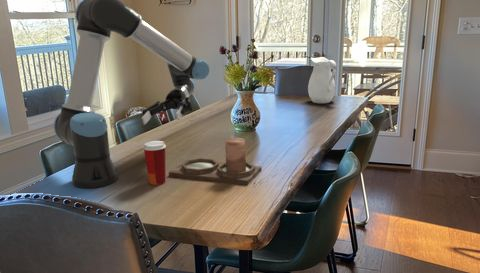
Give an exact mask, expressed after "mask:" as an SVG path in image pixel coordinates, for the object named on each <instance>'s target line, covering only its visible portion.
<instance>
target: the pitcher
mask: <svg viewBox="0 0 480 273" xmlns="http://www.w3.org/2000/svg"><path fill="white" fill-rule="evenodd" d="M310 60H311V62H312V65H313V69H312V72H311V74H310V77H309V81H308V86H307V91H308V96H309V99H310V100H311V102H312V103H313V104H329V103H331V101H332V99H333V98H334V96H335V93H336V84H335V83H336V82H335V78H334V77H335V76H336V73H337V70H338V69H337V63H336V62H335V60H332V59H330V60H329V59H328V58H326V57H324V56H319V57H310ZM331 66H332V68H331Z"/></svg>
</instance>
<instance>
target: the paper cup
mask: <svg viewBox="0 0 480 273" xmlns="http://www.w3.org/2000/svg"><path fill="white" fill-rule="evenodd" d="M166 147H167V145H166V143H165V141H162V140H150V141H147V142H144V144H143V146H142V150H143V151H144V158H145V163H146V164H145V165H146V171H147V176H148V184H150V185H152V186H160V185H163V184H165V183H166V178H167V177H166Z"/></svg>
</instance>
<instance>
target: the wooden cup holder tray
mask: <svg viewBox="0 0 480 273" xmlns="http://www.w3.org/2000/svg"><path fill="white" fill-rule="evenodd" d="M224 143H225V144H224V145H225V147H224V148H225V162H219V161H217V160H216V159H213V158H206V157H200V158H192V159H187V160H185V161H183V162H181V164H179V165H177V166H176V167H174V168H173V169H172V170H170V171H168V177H173V178H183V179H192V180H201V181H210V182H217V183H219V182H220V183H226V184H237V185H246V186H249V184H251V183H252V181H253V180H254V179H255V178H256V177H257V176H258V175H259V174H260V173H261V172H262V166H258V165H253V163H251V162H248V161H247V159H246V158H247V157H246V156H247V155H246V152H247V151H246V139H244V138H243V137H242V138H241V137H231V138H227V139H225V141H224Z"/></svg>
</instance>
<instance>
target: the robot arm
mask: <svg viewBox="0 0 480 273" xmlns="http://www.w3.org/2000/svg"><path fill="white" fill-rule="evenodd" d="M75 19H76V20H75V21H76V22H77V27H76V32H77V33H78V35H79V40H78V47H77V50H76V51H77V52H76V56H75V61H74V66H73V70H72V77H71V82H70V87H69V91H68V95H67V97H68V98H67V100H66V102H65V103H63V104H62V105H61V108H60V112H59V114H58V115H57V116H56V118H55V120H54V121H53V130H54V133H55V135H56V137H58V139H59V140H60V141H62V142H63V143H65V144H67V145H69V146H72V147H73V154H74V161H75V163H74V165H73V166H74V168H73V171H72V172H73V174H72V177H71V178H72V179H71V180H72V185H73V186H74V187H76V188H80V189H94V188H101V187H104V186H108V185H111V184H113V183H115V182H116V181H117V180H118V172H117V170H116V168H115V165H114V163H113V161H112V159H111V154H110V142H109V132H108V123H107V119H106V117H105V116H104V115H102V114H100V113H97V112H96V111H95V109H94V108H93V102H94V97H95V91H96V87H97V82H98V76H99V71H100V67H101V62H102V58H103V52H104V47H105V43H106V42H107V41H109V40H110V39H111V34H112V32H113V33H116V34H118V35H120V36H122V37H123V38H125V39H128V38H129V39H131V40H133V41H135V42H136V43H138V44H140V45H141V46H142V47H144V48H145V49H146V50H148V51H150V52H151V53H153V54H154V55H155V56H157V57H159V58H161V59H162V60H163V61H164V62H166V63H167V68H168V71H169V75H170V77H171V80H172V84H173V88H172V89H171V90H169V92H168V93H167V95H166V97H165V100H164V101H162V102H160V101H159V100H158V101H156V102H155V103H153V104H151V105H150V106H149V107H147V108H145V109H144V110H141V112H142V117H141V121H142V124H143V125H146V124H147V123H148V122H149V121H150V120H151V119H152V116H155V115H157V114H159V113H161V112H166V111H168V110H177V111H176V112H175V117H176V120H177V121H180V120H181V118H182V116H183V115H185V114H186V113H188V111H190V112H192V111H193V110H194V109H193V106H192V103H191V102H190V97H191V96H192V95H193V93H194V91H195V89H196V88H195V87H196V84H195V81H194V80H197V81H198V80H205V79H206V78H207V77H208V76H209V73H210V71H211V70H210V66H209V64H208V62H207V61H205V60H202V59H198V58H196V57H195V56H193V55H191V53H189V52H187V51H186V50H185V49H183V48H182V47H180V46H179V45H178V44H176V43H175V42H174V41H172V40H171V39H170V38H168V37H167V36H165V35H164V34H162V33H161V32H160V31H159V30H157V29H156V28H154V27H153V26H152V25H150V24H148V23H147V22H146V21H144V20H143V19H142V15H141V14H140V13H138V12H137V11H135V10H134V9H133V8H131V7H130V6H128V4H126V3H124V2H123V1H121V0H82V1H80V2H79V3H78V4H77V7H76V9H75ZM193 79H194V80H193Z"/></svg>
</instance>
